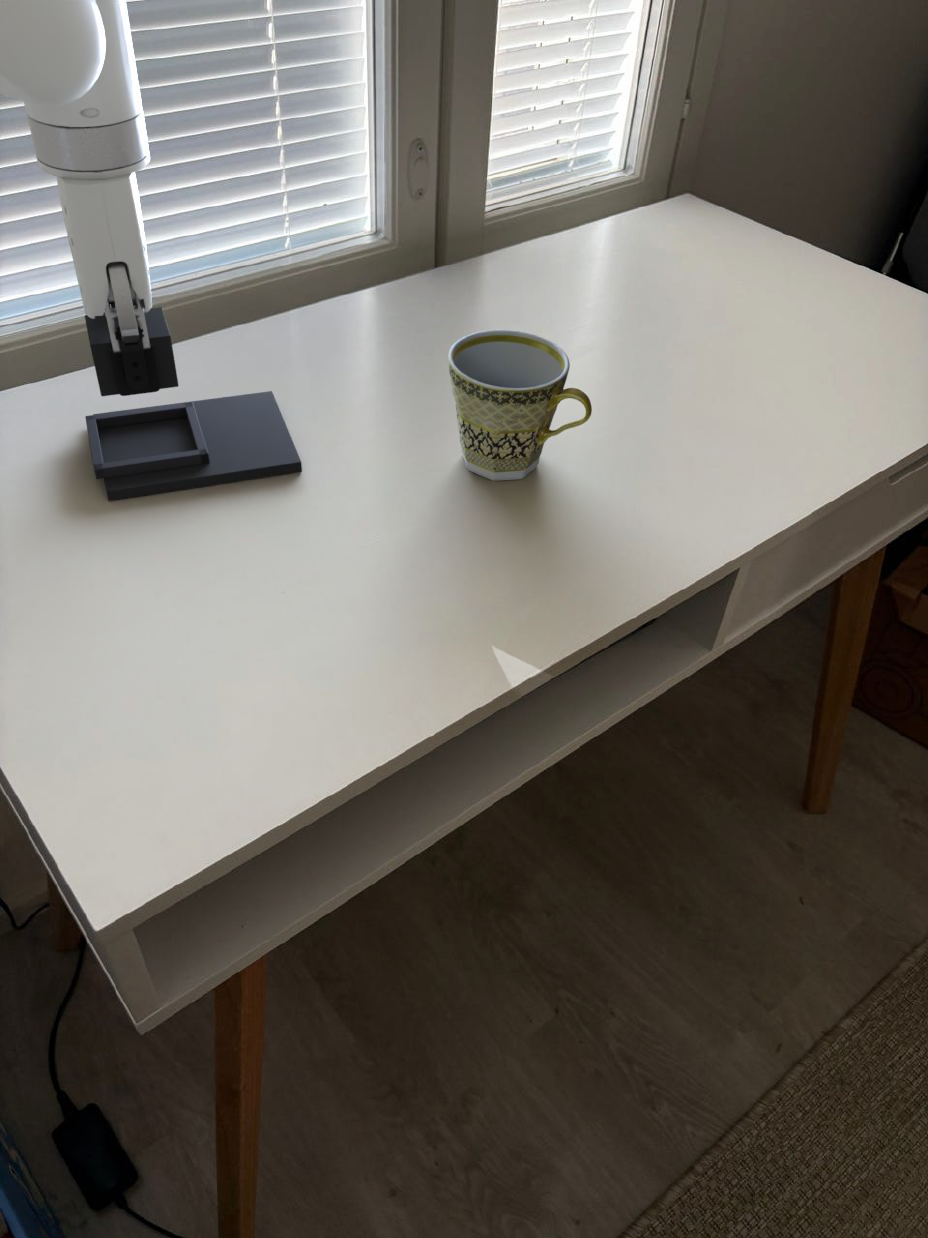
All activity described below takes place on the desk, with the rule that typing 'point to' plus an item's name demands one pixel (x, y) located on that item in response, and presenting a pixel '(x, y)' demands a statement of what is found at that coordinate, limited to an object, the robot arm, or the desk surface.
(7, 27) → the robot arm
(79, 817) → the desk surface
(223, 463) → the base pad
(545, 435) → the ceramic cup
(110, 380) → the dark grey block
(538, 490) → the desk surface
